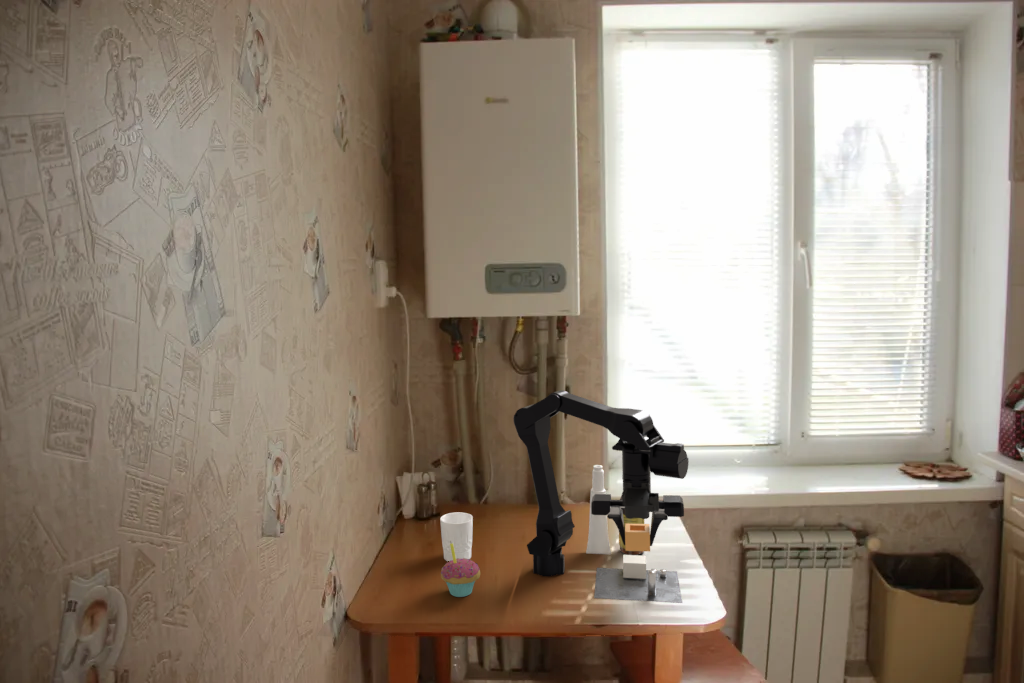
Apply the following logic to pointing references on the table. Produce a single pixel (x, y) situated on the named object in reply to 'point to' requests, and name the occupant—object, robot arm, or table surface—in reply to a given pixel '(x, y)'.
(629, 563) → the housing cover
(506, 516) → the table surface
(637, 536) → the orange hollow square block
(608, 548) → the cosmetic bottle
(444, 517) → the white cup
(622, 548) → the sauce bottle
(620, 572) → the base plate
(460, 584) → the cupcake
